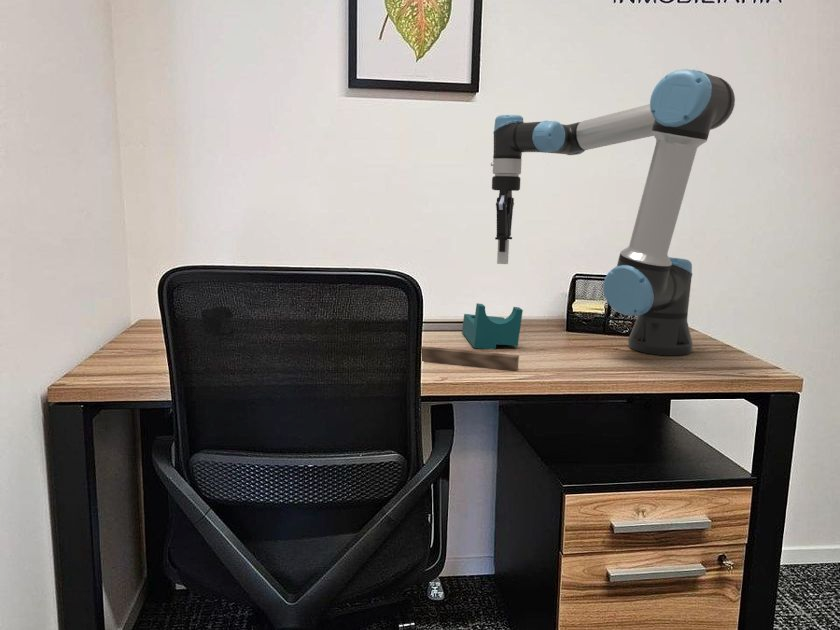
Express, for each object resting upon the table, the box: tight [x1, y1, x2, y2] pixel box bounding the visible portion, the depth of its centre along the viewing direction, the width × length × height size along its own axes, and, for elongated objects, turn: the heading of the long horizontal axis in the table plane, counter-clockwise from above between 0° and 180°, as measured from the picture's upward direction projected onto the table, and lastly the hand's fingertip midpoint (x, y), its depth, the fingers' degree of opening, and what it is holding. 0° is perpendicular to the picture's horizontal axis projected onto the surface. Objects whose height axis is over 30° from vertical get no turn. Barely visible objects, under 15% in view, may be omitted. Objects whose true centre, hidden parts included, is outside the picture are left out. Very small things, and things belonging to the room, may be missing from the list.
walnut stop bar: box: [421, 345, 520, 372], centre depth 154 cm, size 22×2×3 cm, turn 72°
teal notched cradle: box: [461, 302, 524, 350], centre depth 177 cm, size 18×11×10 cm, turn 6°
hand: (502, 263), depth 189 cm, fingers closed
